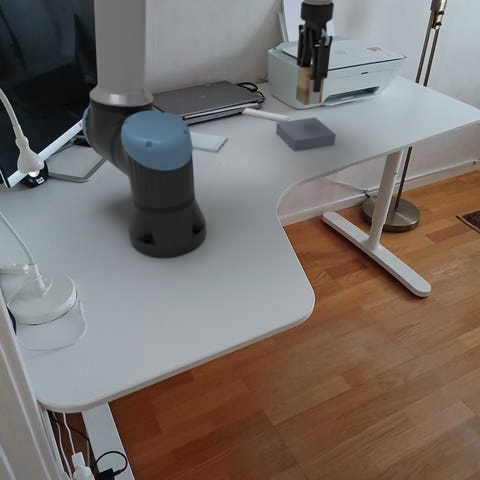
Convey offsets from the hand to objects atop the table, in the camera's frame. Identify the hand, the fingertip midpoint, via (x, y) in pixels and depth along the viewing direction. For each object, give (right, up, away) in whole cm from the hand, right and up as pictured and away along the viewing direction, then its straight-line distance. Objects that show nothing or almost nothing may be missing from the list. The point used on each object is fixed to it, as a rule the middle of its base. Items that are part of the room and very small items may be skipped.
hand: (308, 99), depth 118 cm
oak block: (0, 0, 0) cm, 0 cm away
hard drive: (-29, -11, +5) cm, 31 cm away
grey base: (0, -9, +7) cm, 11 cm away
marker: (-10, 0, +18) cm, 21 cm away
